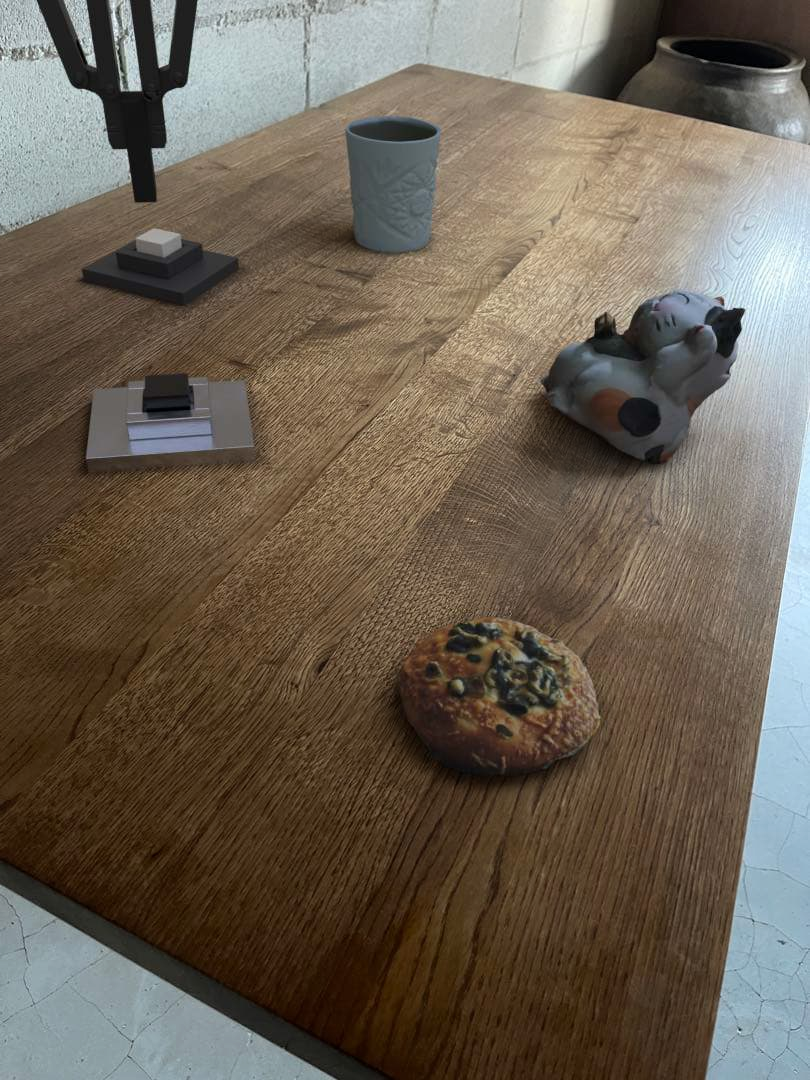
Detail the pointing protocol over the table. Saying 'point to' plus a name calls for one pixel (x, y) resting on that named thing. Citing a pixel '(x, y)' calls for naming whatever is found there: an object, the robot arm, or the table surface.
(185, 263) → the back keypad
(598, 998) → the table surface
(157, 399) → the front key
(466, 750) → the bread roll
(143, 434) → the grey holder base
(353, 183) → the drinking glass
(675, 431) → the lucky cat figurine
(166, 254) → the back key
